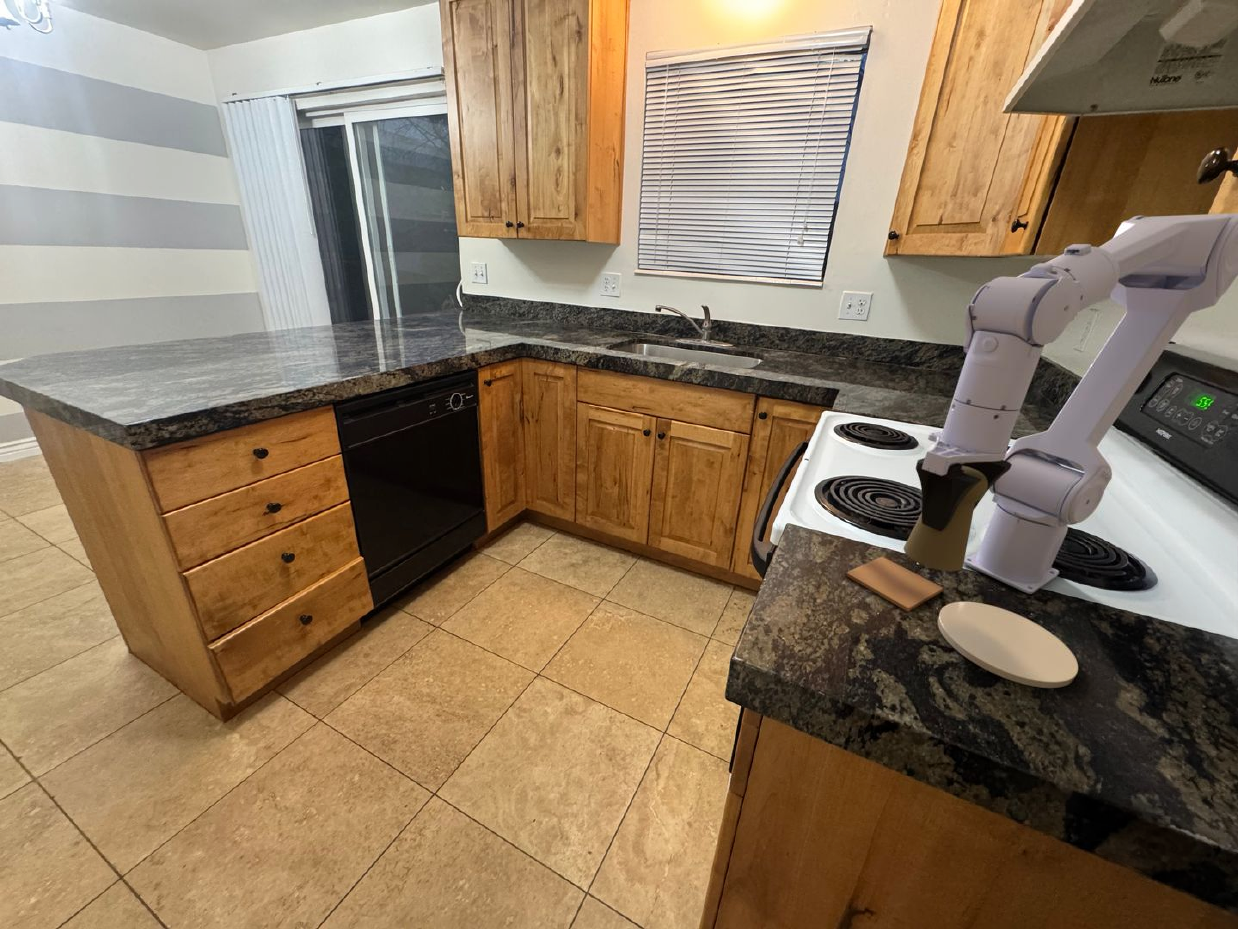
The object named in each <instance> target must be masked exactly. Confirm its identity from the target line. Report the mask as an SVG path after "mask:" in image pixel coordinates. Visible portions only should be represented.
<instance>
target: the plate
mask: <svg viewBox="0 0 1238 929" xmlns="http://www.w3.org/2000/svg"><path fill="white" fill-rule="evenodd" d="M937 626H938V630H939V631H940V634H941V635H942V636H943V638H944V639H945V640H946V642H947V643H948V644H949V645H950V646H951V647H952V648H953V649H954V650H955V651H957V652H958V653H959V654H960V655H962V656H963V657H965V658H966V659H967V660H969V661H970V662H972V663H973V664H975V665H977V666H979V667H981V668H982V669H984V670H986V671H988V672H990V673H991V674H994V675H995V676H998V677H1001V678H1003V679H1006V680H1009V681H1011V682H1015V683H1018V684H1021V685H1024V686H1028V687H1029V686H1030V687H1033V688H1042V689H1058V688H1063V687H1066V686H1068V685H1070V684H1072V683H1073V682H1074V680H1075V679H1076V677H1077V675H1078V673H1079V664H1078V660H1077V658H1076V656H1075V655H1074V653H1073V652H1072V651H1071V649H1070V648H1069V647H1068V646H1067V645H1066V644H1065V643H1064V642H1063V641H1062V640H1060V639H1059V638H1058V637H1057V636H1056V635H1054V634H1052V632H1050V631H1048V630H1047V629H1045V628H1044V627H1042V626H1041V625H1039V624H1037V623H1036V622H1034V621H1032V620H1030V619H1028V618H1026V617H1024V616H1022V615H1020V614H1017V613H1014V612H1012V611H1010V610H1008V609H1005V608H1001V607H998V606H994V605H990V604H986V603H982V602H975V601H955V602H951V603H948V604H946V605H944V606H943V607H942V608H941V609H940V610H939V614H938V616H937Z"/></svg>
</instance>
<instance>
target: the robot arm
mask: <svg viewBox="0 0 1238 929" xmlns="http://www.w3.org/2000/svg"><path fill="white" fill-rule="evenodd" d="M1237 277H1238V212H1237V213H1233V212H1232V213H1209V214H1208V213H1206V214H1185V215H1159V216H1158V215H1157V216H1147V215H1144V214H1143V215H1136V216H1132V217H1131V218H1129V219H1128V220H1124V221H1122V222H1121V224H1120V225H1119V227H1118V228H1117V230H1116V232H1115V234H1114V235H1113V237H1112V238H1111V239H1110V240H1108V241H1106V242H1105V243H1103V244H1102V245H1100V246H1098V247H1097V246H1092V244H1090V243H1074V244H1073V243H1072V244H1071V245H1069V246H1067V247H1065V248H1064V251H1063V253H1062V254H1060V255H1059V256H1057V257H1055V258H1052V259H1051V260H1048V261H1046V262H1044V263H1041V262H1039V263H1037V264H1035V265H1033V266H1031V268H1030V270H1028V271H1026V272H1024V273H1022V274H1019V275H1018V276H998V277H996V278H994V279H992V280H991V281H988V282H986V283H985V284H983V285H981V287H980V288H979V289H978V290H977V291H976V293H975V294H974V296H973V298H972V299H971V302H970V304H967V305H966V311H965V314H964V315H965V316H964V325H965V329H966V334H965V339H964V342H963V345H962V347H963V352H964V353H966V356H965V359H964V362H963V363H964V364H963V366H962V368H961V372H960V375H959V378H958V381H957V385H956V388H955V391H954V394H953V397H952V400H951V403H950V406H949V410H948V413H947V415H946V419H945V422H944V425H943V429H942V432H940V431H934V432H930V433H929V435H928V437H927V440H928V441H930V442H933V443H934V445H933V447H932V449H930V450H927V451H926V454H925V457H923V458H920V459H917V461H916V465H915V471H916V474H917V476H918V479H919V484H920V488H921V489H920V490H921V513H922V524H924V525H926V526H929V527H931V528H933V529H936V530H938V531H942V530H944V529H945V528H946V526H947V525H948V524H949V522H950V520H951V519H952V517H953V515H954V513H955V511H956V509H957V507H958V505H959V504H960V502H961V501H962V499H963V498H964V497H965V495H966V494H967V493H968V492H969V491H970V490H971V489H972V488H973V487H974V486H975V485H976V484H977V483H978V482H980V481H981V479H980V478H977V477H974V476H971V475H968V474H965V473H964V470H961V469H962V466H966V467H969V468H973V469H975V470H977V471H979V472H981V473H982V474H983V475H984V476H985V477H986V479H987V482H988V487H987V491H986V493H987V492H988V491H989V492H990V493H991V494H992V495H993V496H992V499H991V501H992V502H994V503H996V505H995V508H994V510H993V513H992V515H991V518H990V520H989V524H988V526H987V528H986V531H985V534H984V536H983V538H982V541H981V544H980V545H979V549H978V551H976V552H974V553H973V554H971V555H969V556H967V557H965V559H964V564H963V565H966V566H967V567H969V568H972V569H973V570H976V571H978V572H980V573H981V574H982V573H983V574H984V575H987V576H988V577H991V578H993V579H995V580H998V581H1000V582H1002V583H1004V584H1006V585H1008V586H1010V587H1012V588H1014V589H1017V590H1019V591H1021V592H1023V593H1025V594H1027V595H1032V594H1034V593H1036V592H1037V591H1038V590H1039V589H1041V588H1042V587H1044V586H1045V585H1046V584H1048V583H1049V582H1050V581H1052V580H1053V579H1054V578H1056V577H1058V575H1060V570H1058V569H1056V568H1053V564H1054V561H1055V559H1056V557H1057V555H1058V554H1059V551H1060V549H1061V547H1062V544H1063V542H1064V540H1065V538H1066V535H1067V533H1068V529H1069V528H1068V526H1073V525H1077V524H1079V523H1082V522H1084V521H1086V520H1087V519H1088V518H1089V517H1091V515H1092V514H1094V512H1095V511H1096V509H1097V508H1098V506H1099V505H1100V503H1101V501H1102V499H1103V496H1104V493H1105V490H1106V489H1107V486H1108V485H1109V484H1110V482H1111V480H1112V477H1113V471H1112V467H1111V466H1110V463H1109V462H1108V461H1107V460H1106V458H1105V457H1104V456H1103V455H1102V453H1101V452H1100V451H1099V449H1098V447H1099V445H1100V443H1101V442H1102V440H1103V439H1104V438H1105V436H1106V435H1107V433H1108V432H1109V431H1110V429H1111V427H1112V426H1113V424H1115V421H1117V418H1118V417H1119V416H1120V414H1121V413H1122V411H1123V410H1124V409H1125V407H1126V406H1127V404H1128V403H1129V401H1130V400H1131V399H1132V397H1133V395H1134V394H1135V393H1136V391H1137V390H1138V388H1139V387H1140V385H1141V384H1142V382H1143V381H1144V380H1145V378H1146V377H1147V375H1148V374H1149V372H1150V371H1151V369H1152V368H1153V367H1154V365H1155V363H1157V361H1158V359H1159V358H1160V357H1161V355H1162V353H1163V352H1164V350H1165V349H1166V348H1167V346H1168V345H1169V343H1170V342H1171V341H1172V339H1173V338H1174V336H1175V335H1176V334H1177V332H1178V331H1179V329H1180V328H1181V327H1182V326H1183V324H1184V323H1185V321H1186V320H1187V319H1188V318H1189V316H1190V315H1191V314H1193V313H1196V312H1198V311H1201V310H1202V311H1203V310H1205V309H1209V308H1210V307H1211V308H1212V307H1214V306H1215V305H1216V304H1217V303H1218V302H1219V300H1220V299H1221V297H1222V296H1223V295H1225V294H1226V293H1227V292H1228V290H1229V289H1230V288H1231V286H1232V285H1233V283H1234V281H1235V280H1236V279H1237ZM1109 295H1110V299H1111V300H1112V301H1115V303H1118V304H1119V305H1121V306H1122V307H1124V308H1125V314H1124V315H1123V317H1122V318H1121V320H1120V321H1119V323H1118V324H1117V325H1116V327H1115V329H1114V330H1113V332H1111V335H1110V336H1109V338H1108V339H1107V341H1106V342H1105V344H1104V345H1103V347H1102V348H1101V349H1100V351H1099V353H1098V354H1097V356H1096V357H1095V358H1094V360H1093V361H1092V363H1091V365H1089V368H1088V369H1087V371H1086V372H1085V373H1084V375H1083V376H1082V378H1081V380H1080V381H1079V382H1078V384H1077V386H1075V389H1074V390H1073V392H1072V393H1071V395H1070V397H1069V398H1068V399H1067V401H1066V402H1065V404H1064V405H1063V406H1062V408H1061V410H1060V411H1059V413H1058V414H1057V416H1056V417H1055V419H1054V420H1053V421H1052V423H1051V424H1050V426H1049V427H1048V429H1047V430H1045V431H1042V432H1037V433H1034V434H1030V435H1026V436H1022V437H1019V438H1017V439H1016V440H1015V441H1014V442H1013V443H1012V445H1011V446H1010V447H1009V445H1010V442H1011V439H1012V437H1011V435H1012V432H1013V430H1014V428H1015V425H1016V422H1017V419H1018V417H1019V414H1020V412H1021V409H1022V406H1023V404H1024V401H1025V398H1026V395H1027V393H1028V390H1029V387H1030V385H1031V383H1032V379H1033V377H1034V374H1035V371H1036V368H1037V366H1038V364H1039V361H1040V358H1041V355H1042V352H1043V351H1044V347H1045V346H1046V345H1048V344H1053V343H1054V342H1055V341H1057V339H1058V338H1059V337H1060V336H1061V335H1062V333H1063V332H1064V331H1065V330H1066V328H1067V327H1068V325H1069V324H1070V323H1072V322H1073V321H1074V320H1075V318H1076V317H1077V316H1078V313H1079V312H1081V311H1083V310H1085V309H1087V308H1089V307H1091V306H1093V305H1094V304H1096V303H1099V302H1100V301H1102V300H1103V299H1105V298H1106V297H1108V296H1109ZM1008 447H1009V448H1008ZM980 502H981V500H979V501H977V502H976V503H975V506H974V510H975V509H976V508H977V506H979V504H980Z"/></svg>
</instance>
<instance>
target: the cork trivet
mask: <svg viewBox="0 0 1238 929" xmlns="http://www.w3.org/2000/svg"><path fill="white" fill-rule="evenodd" d="M845 577H847V578H849V579H850V580H852V581H854V582H855V583H857V584H859V585H861V586H863V587H864V588H866V589H868V590H870V591H871V592H873V593H874V594H877V595H878V596H880V597H881V598H883V599H884V600H886V601H888V602H889V603H891V604H893V605H895V606H897V607H898V608H900V609H901V610H904V611H905V612H910V611H911V610H913V609H915V608H916V607H918V606H920V605H922V604H924V603H925V602H927V601H929V600H930V599H933V597H935V596H937V595H939V594H940V593H942V592H943V591H944V587H942V586H940V585H938V584H936V583H934V582H932V581H930V580H929V579H927V578H925V577H923V576H921V575H920V574H917V573H915V572H913V571H911V570H909V569H907V568H906V567H904V566H902V565H900V564H898V563H896V562H893V561H892V560H890V559H889V558H886V557H885V556H879V557H878V558H875V559H873V560H871V561H869V562H866V563H864V564H862V565H860V566H857V567H855V568H853V569H851V570H849V571H847V572H846V573H845Z"/></svg>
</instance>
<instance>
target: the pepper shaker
mask: <svg viewBox="0 0 1238 929" xmlns="http://www.w3.org/2000/svg"><path fill="white" fill-rule="evenodd" d="M961 470H964V473H965V474H968V475H971V476H974V477H977V478H980V479H981V481H980V482H978V483H977V484H976V485H975V486H974V487H973V488H972V489H971V490H970V491H969V492H968V493H967V494H966V495H965V497H964V498H963V499H962V501H961V502H960V504H959V505H958V507H957V509H956V511H955V513H954V515H953V517H952V519H951V520H950V522H949V524H948V525H947V526H946V528H945V529H944V530H942V531H938V530H936V529H933V528H931V527H929V526H926V525H924V524H922V512H920V515H919V517H918V518H917V521H916V522H915V524H914V526H913V529H912V530H911V533H910V534H909V535H908V538H907V541H906V542H905V544H904V546H903V551H904V553H905V554H906V555H907V556H908V557H909V558H910V559H911V560H913V561H914V562H916V563H918V564H920V565H922V566H924V567H927V568H930V569H933V570H937V571H943V572H957V571H958V572H959V571H960V570H962V569H963V568H964V565H965V564H964V559H965V558H966V553H967V549H968V548H967V547H968V542H969V538H970V532H971V527H972V521H973V516H974V510H975V509H974V506H975V503H976V502H977V501H979V500H980V501H982V499H983V498H984V497H985V495H986V493H987V492H988V491H987V487H988V482H987V479H986V477H985V476H984V475H983V474H982V473H981V472H979V471H977V470H975V469H973V468H969V467H966V466H962V469H961ZM986 491H987V492H986Z"/></svg>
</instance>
